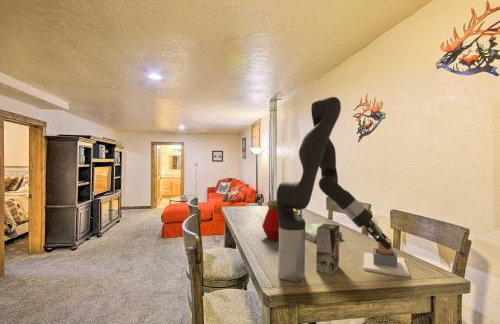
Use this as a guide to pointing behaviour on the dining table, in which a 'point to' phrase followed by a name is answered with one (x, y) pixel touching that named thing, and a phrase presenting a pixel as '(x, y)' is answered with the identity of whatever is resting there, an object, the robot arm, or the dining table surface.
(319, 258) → the coffee box
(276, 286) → the dining table surface
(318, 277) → the dining table surface
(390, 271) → the socket stand
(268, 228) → the bottle
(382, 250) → the peg
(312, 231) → the towel
